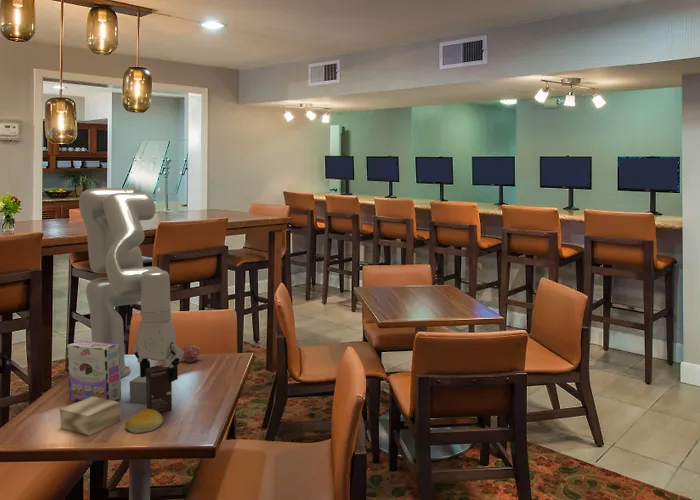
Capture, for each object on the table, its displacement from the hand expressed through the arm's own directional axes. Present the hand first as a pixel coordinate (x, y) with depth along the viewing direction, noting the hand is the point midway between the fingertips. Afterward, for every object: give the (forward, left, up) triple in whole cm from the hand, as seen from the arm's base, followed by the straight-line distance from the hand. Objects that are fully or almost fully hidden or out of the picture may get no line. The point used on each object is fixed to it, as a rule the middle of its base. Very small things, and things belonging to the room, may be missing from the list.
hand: (159, 378), depth 164 cm
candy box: (-22, -2, -9) cm, 24 cm away
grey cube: (-10, +5, -9) cm, 15 cm away
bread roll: (+4, -10, -10) cm, 14 cm away
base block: (-9, -15, -9) cm, 20 cm away
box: (0, 0, -9) cm, 9 cm away
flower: (-22, +38, -9) cm, 45 cm away
